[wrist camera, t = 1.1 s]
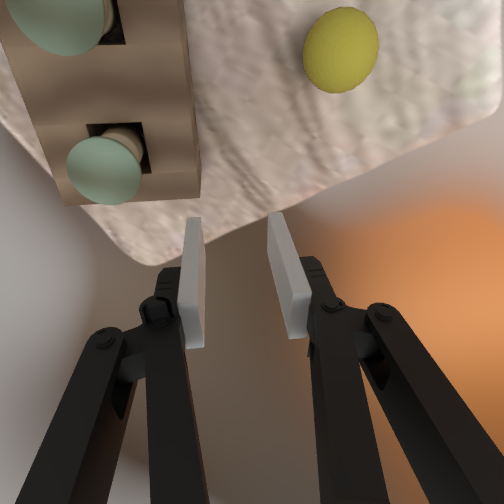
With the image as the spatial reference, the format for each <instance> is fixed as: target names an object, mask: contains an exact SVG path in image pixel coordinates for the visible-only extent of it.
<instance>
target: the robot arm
mask: <svg viewBox="0 0 504 504" xmlns="http://www.w3.org/2000/svg"><path fill="white" fill-rule="evenodd" d="M267 253H268V257H269V261H270V265H271V269H272V273H273V277H274V281H275V285H276V289H277V293H278V297H279V301H280V305H281V309H282V313H283V317H284V321H285V325H286V329H287V333H288V337H289V339H296V338H306V333H307V331H308V334H309V337H310V341H309V348H308V355H307V357H310V369H311V382H312V396H313V408H314V423H315V436H316V449H317V463H318V475H319V490H320V503H321V504H390V502H389V499H388V494H387V489H386V485H385V480H384V475H383V471H382V466H381V462H380V457H379V452H378V448H377V443H376V439H375V434H374V429H373V425H372V420H371V416H370V411H369V407H368V402H367V397H366V393H365V388H364V383H363V379H362V375H361V370H360V365H361V367H362V369H363V371H364V373H365V375H366V377H367V379H368V381H369V383H370V385H371V387H372V389H373V391H374V393H375V395H376V397H377V399H378V401H379V403H380V405H381V407H382V409H383V411H384V413H385V415H386V417H387V419H388V421H389V423H390V425H391V427H392V429H393V431H394V433H395V435H396V437H397V439H398V441H399V443H400V445H401V447H402V449H403V451H404V453H405V455H406V457H407V459H408V461H409V463H410V465H411V467H412V469H413V471H414V473H415V475H416V477H417V479H418V481H419V483H420V485H421V487H422V489H423V491H424V493H425V495H426V497H427V499H428V501H429V503H430V504H504V456H503V455H502V453H501V452H500V451H499V449H498V448H497V447H496V445H495V444H494V442H493V441H492V440H491V438H490V437H489V436H488V434H487V433H486V431H485V430H484V429H483V427H482V426H481V424H480V423H479V422H478V420H477V419H476V417H475V416H474V415H473V413H472V412H471V411H470V409H469V408H468V407H467V405H466V404H465V402H464V401H463V399H462V398H461V397H460V395H459V394H458V393H457V391H456V390H455V389H454V387H453V386H452V384H451V383H450V382H449V380H448V379H447V377H446V376H445V375H444V373H443V372H442V371H441V369H440V368H439V366H438V365H437V364H436V362H435V361H434V359H433V358H432V357H431V355H430V354H429V353H428V351H427V350H426V348H425V347H424V346H423V344H422V343H421V341H420V340H419V339H418V337H417V336H416V335H415V333H414V332H413V330H412V329H411V328H410V326H409V325H408V323H407V322H406V321H405V319H404V318H403V317H402V315H401V314H400V312H399V311H397V310H396V308H394V307H392V306H391V305H389V304H385V303H374V304H371V305H370V306H369V307H368V309H367V310H364V309H357V308H353V307H349V306H347V305H346V304H345V302H343V300H342V299H340V298H338V297H336V295H335V293H334V291H333V288H332V286H331V284H330V282H329V280H328V278H327V276H326V273H325V271H324V269H323V267H322V265H321V262H320V261H319V260H317V259H316V258H315V257H314V256H308V257H298V254H297V252H296V249H295V246H294V244H293V241H292V238H291V236H290V233H289V231H288V228H287V225H286V222H285V220H284V217H283V215H282V212H277V213H268V251H267ZM205 259H206V257H205V248H204V240H203V232H202V223H201V217H198V218H187V221H186V230H185V238H184V247H183V256H182V265H181V267H170V268H163V270H162V271H161V272H160V273H159V275H158V278H157V284H156V288H155V293H154V296H151V297H149V298H147V299H146V300H144V301H143V302H142V303H141V305H140V308H139V312H140V315H141V319H142V322H143V324H141V325H140V326H138V327H136V328H133V329H131V330H128V331H125V332H122V331H121V330H120V329H118V328H116V327H107V328H103V329H100V330H99V331H96V332H95V333H94V334H93V335H91V336H90V338H89V339H88V341H87V343H86V345H85V347H84V349H83V351H82V354H81V356H80V358H79V361H78V363H77V365H76V367H75V369H74V372H73V374H72V376H71V378H70V381H69V383H68V385H67V387H66V390H65V392H64V394H63V396H62V399H61V401H60V403H59V405H58V408H57V410H56V412H55V415H54V417H53V419H52V421H51V423H50V426H49V428H48V430H47V433H46V435H45V437H44V439H43V442H42V444H41V446H40V448H39V450H38V453H37V455H36V457H35V459H34V462H33V464H32V466H31V468H30V471H29V473H28V475H27V477H26V480H25V482H24V484H23V487H22V489H21V491H20V493H19V496H18V498H17V500H16V502H15V504H107V501H108V496H109V492H110V489H111V485H112V481H113V477H114V473H115V469H116V465H117V461H118V457H119V453H120V449H121V446H122V442H123V438H124V434H125V430H126V426H127V422H128V418H129V414H130V410H131V406H132V402H133V398H134V394H135V390H136V386H137V382H138V380H139V379H142V378H144V377H146V400H147V426H148V450H149V475H150V498H151V504H210V502H209V496H208V490H207V483H206V477H205V471H204V465H203V459H202V453H201V447H200V441H199V435H198V429H197V423H196V416H195V410H194V404H193V398H192V392H191V386H190V380H189V374H188V367H187V362H186V356H185V344H186V349H190V348H191V349H192V348H201V347H204V325H205V324H204V322H205V261H206V260H205ZM359 363H360V365H359Z"/></svg>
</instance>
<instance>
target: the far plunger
mask: <svg viewBox="0 0 504 504" xmlns="http://www.w3.org/2000/svg"><path fill="white" fill-rule="evenodd" d="M144 153H145V141H144V138H143V136H142V135H141V133H140V132H139V131H138V130H137V129H136V128H134V127H133V126H131V125H128V124H124V123H117V124H114V125H112V126H110V127H109V128H108V129H107V130H106V131H105V132H104V133H103V134H102V135H101V136H93V137H88V138H86V139H83V140H82V141H80V142H79V143H78V144H77V145H75V146H74V147H73V148H72V150H71V151H70V153H69V154H68V157H67V162H66V169H67V174H68V177H69V179H70V181H71V183H72V184H73V186H74V187H75V188H76V189H77V190H78V192H80V193H81V194H82V195H83V196H85V197H86V198H88V199H89V200H91V201H94V202H96V203H99V204H104V205H118V204H122V203H124V202H127V201H128V200H130V199H131V198H132V197H133V196H134V195H135V194H136V192H137V190H138V188H139V186H140V183H141V179H142V172H141V167H140V164H139V163H140V161H141V159H142V157H143V155H144Z"/></svg>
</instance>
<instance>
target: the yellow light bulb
mask: <svg viewBox="0 0 504 504" xmlns="http://www.w3.org/2000/svg"><path fill="white" fill-rule="evenodd" d="M378 50H379V41H378V33H377V30H376V28H375V25H374V22H373V21H372V20H371V19H370V18H369V17H368V16H367V15H366V14H365V13H364V12H362V11H360V10H358V9H356V8H353V7H339V8H336V9H334V10H331V11H329V12H326V13H325V14H324V15H323V16H322V17H320V18H319V19H318V20H317V21H316V22H315V23H314V25H313V26H312V28H311V29H310V31H309V32H308V35H307V38H306V41H305V44H304V48H303V63H304V69H305V72H306V74H307V76H308V78H309V79H310V81H311V82H312V83H313V84H314V85H315V86H316V87H317V88H318V89H320V90H323V91H325V92H328V93H343V92H346V91H349V90H352V89H354V88H355V87H356V86H358V85H359V84H361V83H362V82H363V81H364V80H365V79H366V77H367V76H368V75H369V74H370V72H371V71H372V69H373V66H374V64H375V62H376V60H377V55H378Z"/></svg>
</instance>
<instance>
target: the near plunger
mask: <svg viewBox="0 0 504 504" xmlns="http://www.w3.org/2000/svg"><path fill="white" fill-rule="evenodd" d="M5 4H6V6H7V8H8V11H9V13H10V14H11V16H12V18H13V20H14V21H15V23H16V24H17V26H18V27H19V28H20V30H21V31H22V32H23V33H24V34H25V35H26V36H27V37H28V38H29V39H30V40H31V41H32V42H34V43H35V44H36V45H38V46H39V47H41V48H43V49H44V50H46V51H48V52H51V53H53V54H57V55H61V56H76V55H80V54H83V53H86V52H88V51H90V50H91V49H93V48H94V47H95V46H96V45H97V44H98V42H99V41H100V39H101V37H103V36H106V35H108V34H110V33H111V32H112V31H113V30H114V28H115V27H116V24H117V21H118V7H117V3H116V1H115V0H5Z"/></svg>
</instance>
